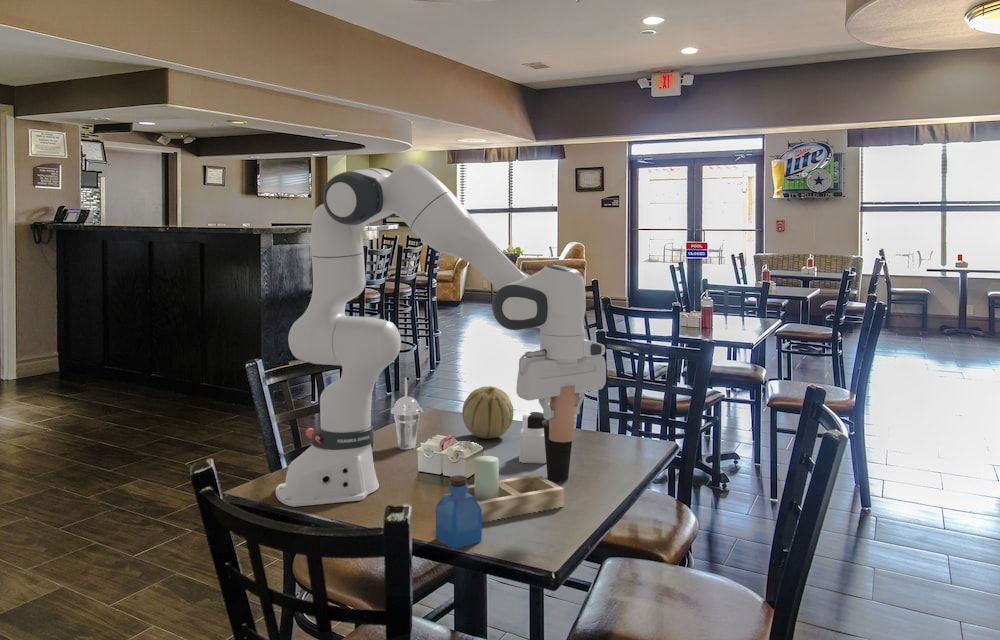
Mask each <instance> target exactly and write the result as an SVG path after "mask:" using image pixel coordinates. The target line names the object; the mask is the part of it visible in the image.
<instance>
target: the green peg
mask: <svg viewBox="0 0 1000 640" xmlns="http://www.w3.org/2000/svg"><path fill="white" fill-rule="evenodd" d="M499 467H500V459H499V458H498V457H497V456H492V455H481V456H476V457H475V458H474V485H475V488H474V498H475V500H477V501H482V500H488V499H493V498H499V479H500V477H499V475H500V469H499Z"/></svg>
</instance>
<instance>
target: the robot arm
mask: <svg viewBox="0 0 1000 640" xmlns="http://www.w3.org/2000/svg"><path fill="white" fill-rule="evenodd" d="M322 200H323V201H322V202H323V203H322V204H320V205H318V206H317V207H316V208H315V210H314V211H313V214H312V219H311V225H310V226H311V227H310V228H311V229H310V254H311V268H312V293H311V298H310V301H309V304H308V306H307V308H306V310H305V311H304V312H303V314H301V316H300V317H299V318H297V319H296V320H295V322H293V324H292V325H291V327H290V330H289V333H288V337H287V339H288V340H287V341H288V347H289V349H290V351H291V354H292V356H294V358H295V359H297V360H299V361H303V362H307V363H311V364H315V365H326V366H327V365H331V366H341V368H342V369H341V370H342V371H341V376H340V378H339V379H337V380H336V381H334V382H332V383H330V384H328V385H327V386H326V387H324V389H323V390H322V392H321V394H320V397H319V408H320V411H319V412H320V413H319V414H320V415H319V418H320V426H319V427H318V428H317V429H316V430H315V429H314V427H313V428H312V427H308V428H307V429H306V430H305V435H306V436H307V437H308V438H309V439H311V445H310V446H309V447H308V448H307V449H306V450H305V451H303V452H302V453H300V455H299V456H297V457H296V458H295V459H293V461H291V462H290V463H289V465H288V467H287V471H286V477H285V482H284V483H283V482H282V483H280V484H278V486H276V488H275V497H276V498H277V500H278V501H279V502H280V503H282V504H284V505H285V506H289V507H295V508H296V507H305V506H315V505H316V506H317V505H326V504H335V503H336V504H337V503H346V502H348V503H349V502H356V501H357V502H358V501H362V500H365V498H367V496H368V495H370V494H372V493H374V492H376V491H377V490H378V489H379V487H380V483H379V480H378V476H377V472H376V468H375V464H374V457H373V449H374V442H375V441H374V438H375V437H374V436H375V435H374V426H373V425H372V399H373V398H372V396H373V391H374V388H375V387H374V386H375V384H376V381H377V380H378V378H379V376H380V375H381V373H382V372H383V371H385V369H386V368H387V367H388V366H389V365H391V364H392V363H393V362H395V360H396V359H397V357H398V356H399V354H400V351H401V346H402V345H401V344H402V337H401V334H400V331H399V329H398V327H397V326H396V325H395V323H394V322H392V321H388V320H386V319H382V318H378V317H374V316H353V315H346V305H347V303H348V302H351V301H352V300H353V299H355V298H357V297H358V296H360V295H361V293H363V291H364V289H365V287H366V284H367V283H366V282H367V280H366V267H365V266H366V265H365V251H364V241H363V240H364V239H363V237H364V236H363V234H364V230H365V227H367V225H368V224H371V223H372V224H374V223H377V222H380V221H383V220H386V219H390V218H391V217H394V216H395V215H396V216H398V217H399V218H400V219H401V220H402V221H403V222H404V223H405V224H406V225H407V226H408V228H410V229H411V231H412V232H413V233H414V234H415V235H416V236H417V237H418V238H419V239H420V240H421V241H422V242H423V243H425V244H426V245H428V246H429V247H430V248H431V249H433V250H434V251H436V252H438V253H440V254H446V255H448V256H452V257H456V258H458V259H462V260H463V261H465V262H467V263H468V264H470V265H472V266H473V267H475V268H476V269H477V270H478V271H479V272H480V274H482V275H483V276H484V277H485V278H486V279H487V280H488V282H490V283H491V284H492V285H493V286H494V287H495V288H496V289H497V290H498V291H497V292H496V293H495V295H494V297H493V300H492V307H491V309H492V314H493V316H494V318H495V320H496V321H497V323H498V324H499V326H501V327H503V328H505V329H507V330H509V331H516V332H517V331H518V332H519V331H524V330H527V329H532V328H539V330H540V332H539V335H540V336H539V337H540V338H539V341H540V343H539V344H540V345H539V349H538V350H533V351H532V350H531V351H526V352H525V353H524V354H523V355H521V356H520V358H519V360H518V372H517V378H516V390H515V391H516V394H517V396H518V397H519V398H520V399H522V400H525V401H534V400H538V404H540V406H541V408H542V411H543V412H542V413H543V417H544V418H545V419H553V418H554V417H555V415H554V414H555V410H553V409H551V408H550V406H549V403H550V402H551V397H555V396H559V395H560V387H567V386H573V385H575V412H574V416H575V415H580V408H581V405H582V403H583V401H584V399H585V394H586V393H585V392H593V391H598V390H602V389H603V388H604V386H605V385H606V383H607V381H606V380H607V365H606V364H607V363H606V359H605V357H604V356H603V355H605V353H606V345H604V344H602V343H599V342H597V341H592V340H590V339H589V338H586V329H585V326H584V325H585V324H584V319H585V315H586V309H587V308H586V303H587V302H586V299H587V298H586V297H587V296H586V285H585V279H584V276H583V275H582V273H581V272H580V271H579V270H577V268H572V267H570V266H565V265H559V264H558V265H557V264H548V265H545V266H544V267H543V268H542V269H540V270H539V271H537V272H536V273H534V274H532V275H530V274H528V273H526V272H524V271H523V270H522V269H520V268H519V267H518V266H517V265H516V264H515V262H513V261H512V260H511V259H510V258H509V257H508V256H507V255H506V254H505V253H504V252H503V251H502V250H501V249H500V248H499V247H498V246H497V245H496V244H495V243H494V242H493V241H492V240H491V239H490V238H489V236H487V234H486V233H485V232H484V230H483V229H482V228H481V226H480V225H479V224H478V223H477V222H476V221H475V219H474V218H473V216H472V215H471V214H470V212H469V211H468V210H467V208H466V207H465V206H464V205H463V204H462V202H461V201H460V200H459V199H458V198H457V197H456V195H455V194H454V193H453V192H452V191H451V190H450V189H449V188H448V187H447V186H446V185H445V184H444V183H443V182H442V181H441V180H439V179H438V178H437V177H436V176H435V175H434V174H432V173H431V172H430V171H429V170H427V169H425V168H424V167H423V166H422V165H420V164H418V163H414V162H409V163H404V164H402V165H400V166H399V167H396V168H395V170H392V169H390V168H385V167H374V168H373V167H364V168H359V169H355V170H353V171H352V170H351V171H349V170H348V171H343V172H341V173H338V174H336V175H334V176H333V177H332V178H330V179H329V180H328V182H327V183H326V185H325V187H324V189H323V195H322Z"/></svg>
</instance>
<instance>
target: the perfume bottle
mask: <svg viewBox="0 0 1000 640" xmlns="http://www.w3.org/2000/svg"><path fill="white" fill-rule="evenodd" d="M449 480H450V483H449V484H448V485H449V487H448V488H449V489H448V490H449V491H450V492H449V493H445V494H443V495H442V497H441V499H440V500H439V501H438V503H437V504H436V506H435V539H436V538H437V539H438V540H437V539H436V540H437V541H439V540H440V541H439V542H441V543H442V542H443V543H442V544H444V543H445V544H446V546H447V545H448V546H447V547H448V548H450V547H451V548H450V549H452V550H457V549H460V548H464V546H465V547H468V546H472V545H474V544H473V543H475V544H477V543H478V542H479V543H481V542H480V541H482V539H483V538H482V536H483V535H482V525H483V523H482V509H481V508H480V506H479V505H478V503H477V501H476V500H475V498H474V496H472V495H470V494H468V493H466V491H467V490H468V486H469V483H467V481H468V477H467V476H465V475H451V476H450V477H449ZM445 544H444V545H445ZM471 544H472V545H471ZM467 545H468V546H467Z"/></svg>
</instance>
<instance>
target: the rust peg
mask: <svg viewBox="0 0 1000 640" xmlns="http://www.w3.org/2000/svg"><path fill="white" fill-rule="evenodd" d="M548 404H549V406H550V408H551V409H553V410H555V414H554V415H555V417H554V418H553V419H549V439H550V440H551V441H554V442H570V441H572V442H573V441H574V440H575V425H574V422H575V415H574V412H575V385H573V386H567V387H560V395H559V396H555V397H551V402H550V403H548Z"/></svg>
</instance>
